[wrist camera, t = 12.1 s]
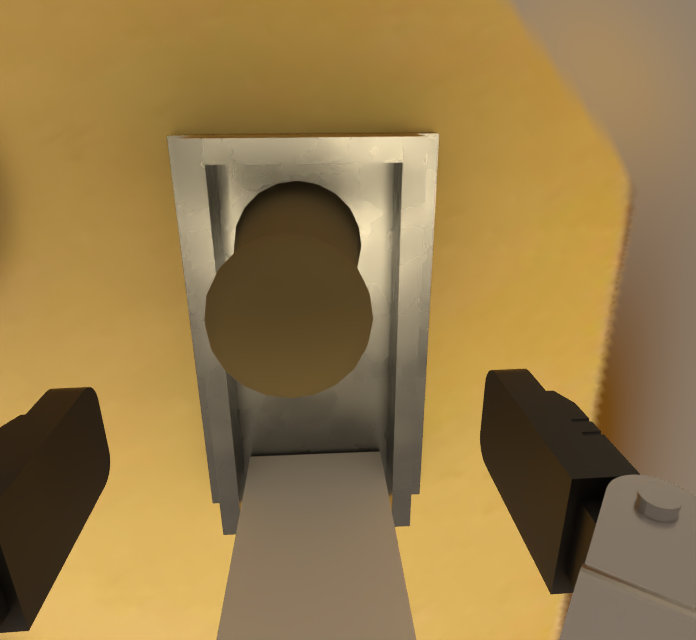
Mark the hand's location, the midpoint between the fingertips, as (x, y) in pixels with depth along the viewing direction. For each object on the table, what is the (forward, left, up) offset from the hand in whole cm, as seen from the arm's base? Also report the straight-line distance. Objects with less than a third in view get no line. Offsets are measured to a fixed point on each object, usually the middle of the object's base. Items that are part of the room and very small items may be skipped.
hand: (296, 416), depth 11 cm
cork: (0, 0, -16) cm, 16 cm away
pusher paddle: (0, -13, -15) cm, 20 cm away
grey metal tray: (0, -5, -16) cm, 17 cm away
